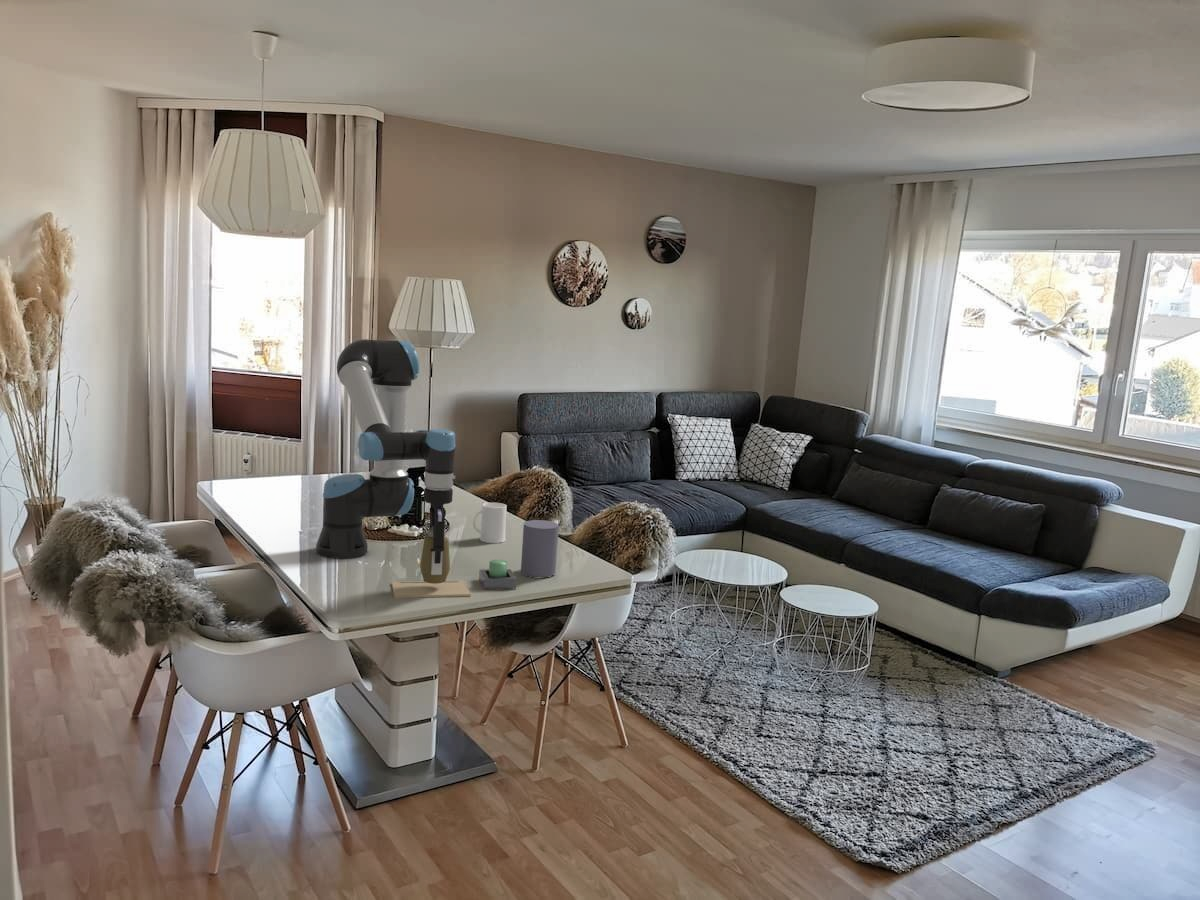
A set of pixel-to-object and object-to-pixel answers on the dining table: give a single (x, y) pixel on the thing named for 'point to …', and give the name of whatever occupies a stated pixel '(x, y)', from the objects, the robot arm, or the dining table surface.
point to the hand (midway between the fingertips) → (434, 569)
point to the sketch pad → (429, 589)
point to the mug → (492, 522)
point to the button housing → (497, 580)
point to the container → (539, 548)
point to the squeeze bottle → (427, 560)
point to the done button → (497, 568)
